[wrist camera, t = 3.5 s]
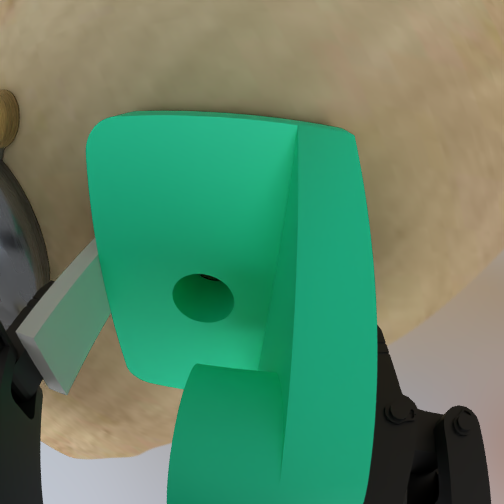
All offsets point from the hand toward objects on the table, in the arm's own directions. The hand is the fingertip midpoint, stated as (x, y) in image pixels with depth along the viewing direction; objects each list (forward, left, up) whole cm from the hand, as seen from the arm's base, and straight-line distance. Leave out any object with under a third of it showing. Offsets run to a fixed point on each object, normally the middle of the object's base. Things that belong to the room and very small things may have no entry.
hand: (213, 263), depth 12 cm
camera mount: (0, 0, -1) cm, 1 cm away
